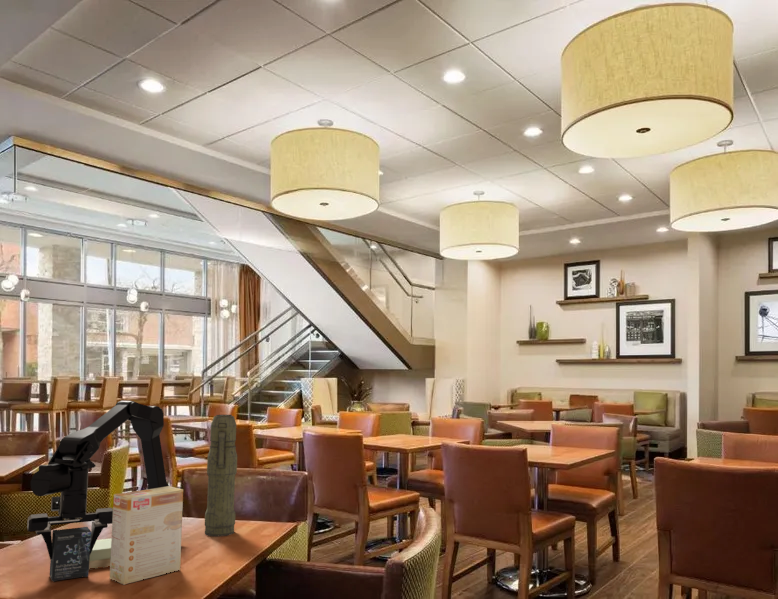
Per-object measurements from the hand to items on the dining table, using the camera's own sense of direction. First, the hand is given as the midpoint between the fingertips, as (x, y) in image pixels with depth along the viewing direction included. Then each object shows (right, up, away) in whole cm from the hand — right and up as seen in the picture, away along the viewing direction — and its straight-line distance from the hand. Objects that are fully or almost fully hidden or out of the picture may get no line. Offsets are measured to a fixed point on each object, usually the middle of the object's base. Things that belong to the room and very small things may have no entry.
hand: (70, 556), depth 157 cm
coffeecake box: (+17, -5, +2) cm, 18 cm away
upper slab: (+3, -4, +13) cm, 14 cm away
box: (0, -5, 0) cm, 5 cm away
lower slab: (+3, -7, +13) cm, 14 cm away
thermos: (+25, -10, +43) cm, 50 cm away
